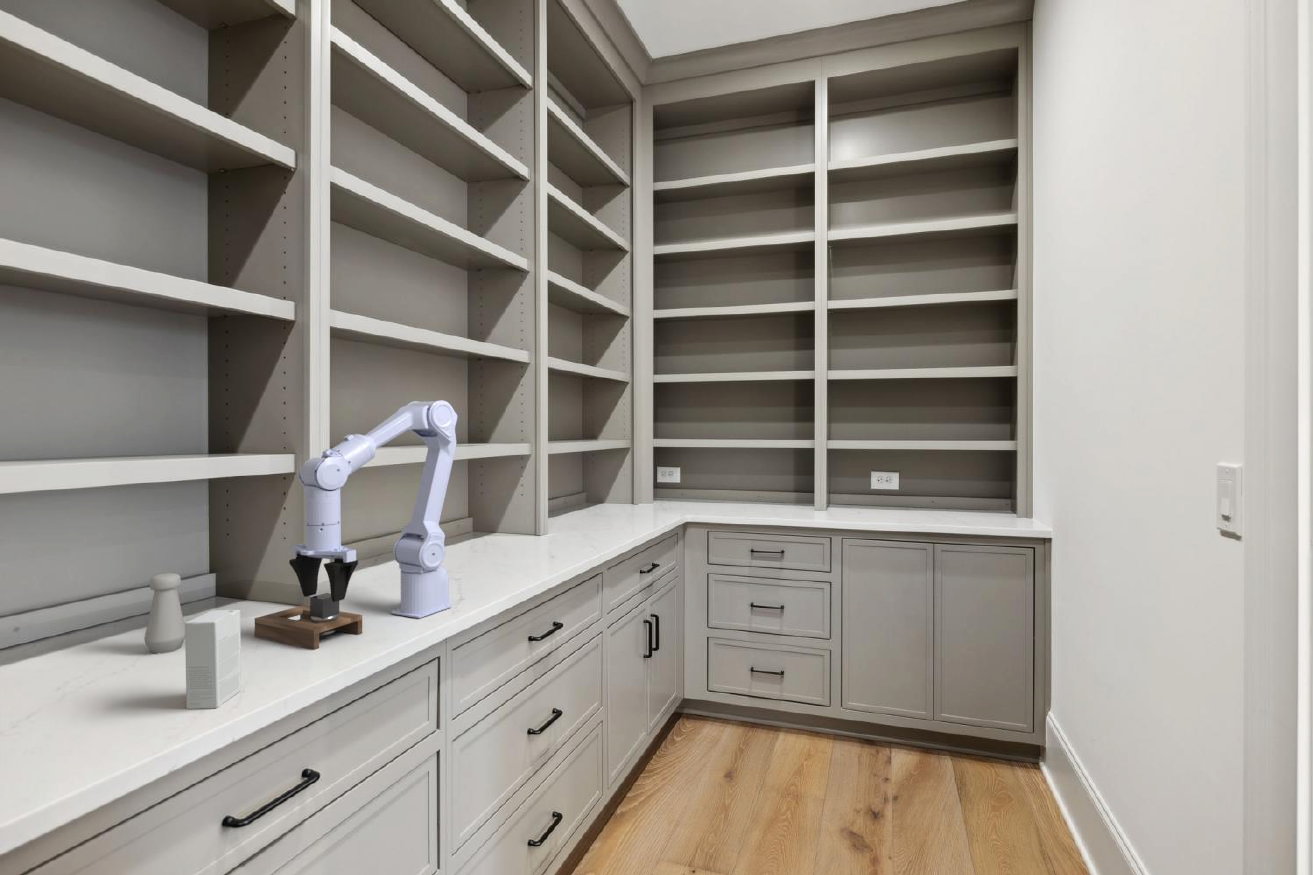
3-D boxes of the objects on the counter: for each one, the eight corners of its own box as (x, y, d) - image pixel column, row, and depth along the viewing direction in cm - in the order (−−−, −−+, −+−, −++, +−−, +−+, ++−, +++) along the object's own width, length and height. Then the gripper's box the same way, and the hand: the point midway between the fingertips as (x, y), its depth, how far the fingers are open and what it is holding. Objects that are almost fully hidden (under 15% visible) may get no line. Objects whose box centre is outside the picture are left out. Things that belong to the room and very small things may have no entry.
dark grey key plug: (327, 627, 121) (327, 592, 121) (343, 630, 119) (343, 594, 119) (305, 633, 117) (305, 597, 117) (322, 637, 115) (322, 600, 115)
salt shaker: (163, 656, 108) (162, 579, 108) (135, 654, 109) (134, 577, 109) (194, 645, 114) (194, 571, 114) (167, 642, 115) (167, 570, 115)
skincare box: (211, 691, 94) (211, 609, 94) (242, 691, 94) (241, 609, 94) (184, 709, 88) (183, 622, 88) (216, 709, 88) (216, 621, 88)
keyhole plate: (304, 621, 127) (304, 604, 127) (362, 633, 121) (362, 614, 121) (254, 636, 118) (254, 618, 118) (313, 649, 112) (313, 630, 112)
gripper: (276, 523, 117) (276, 598, 117) (331, 529, 111) (332, 608, 111) (311, 518, 123) (312, 589, 124) (365, 523, 117) (366, 598, 117)
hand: (323, 597), depth 118 cm, fingers open, 7 cm apart
